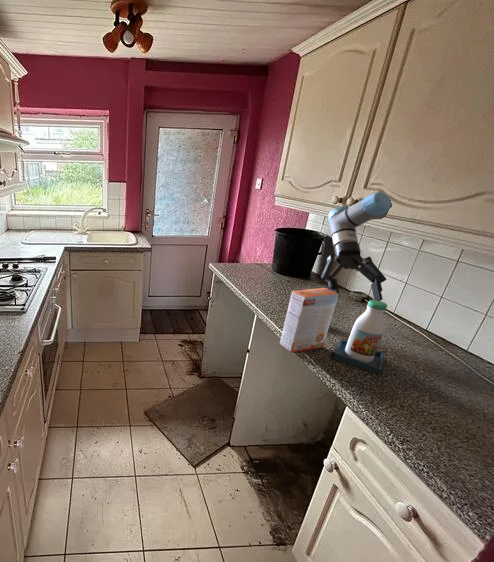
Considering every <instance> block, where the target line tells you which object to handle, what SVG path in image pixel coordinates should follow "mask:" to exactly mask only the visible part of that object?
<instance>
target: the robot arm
mask: <svg viewBox="0 0 494 562" xmlns="http://www.w3.org/2000/svg"><path fill="white" fill-rule="evenodd" d="M389 198H390V197H389V196H388V195H387V194H385V193H383V192H381V191H377V192H374V193H372V194H370V195H367V196H366V197H364V198H363V199H361V200H360V201H358V202H356V203H355V204H353V205H352V206H351V205H350V207H348V206H343V205H342V206H339V207H335V208H333V209H332V210H330V211H329V213H328V226H329V230H330V233H331V238H332V239H331V240H332V246H333V251H334V254H333V253H332V254H330V255H329V256H327V257H326V265H325V267H324V269H323V271H322V273H321V276H320V279H321V280H324V282H326V283H327V286H328V289H329V290H331V291H333V292H336V293H338V294H339V296H338V298H339V297H340V296H341V295H340V291H339V285H338V279H337V278H335V277H336V276H337V275H338V274H339V273H340V272H341V270H342V269H344V270H355V271H357V272H359V273H360V274H361V275H363V277H365V278H366V280H368V281H369V282H370V283H371V284H370V287H371V292H372V296H373V300H377V301H382V300H383V294H382V292H383V287H382V283H384V282H386V281H387V278H386V276H385V275H384V274H383V272H382V271H381V270H380V269H379V268H378V267H377V265H376V264H375V263H374V261H373V259H372V257H371V256H367V257H362V256H361V247H360V243H359V239H358V235H357V230H356V229H357V227H359V226H361V225H364V224H365V223H367V222H370V221H373V220H383V219H382V218H384V217H386V215H387V213H388V211H389V209H390V208H391V207H392V203H391V200H390V199H389ZM334 262H336V263H338V265H337V266H336V267H335V269H333V271H332V272H331V269H332V267H333V265H334ZM330 272H331V273H330Z"/></svg>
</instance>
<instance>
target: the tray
mask: <svg viewBox="0 0 494 562" xmlns="http://www.w3.org/2000/svg"><path fill="white" fill-rule="evenodd" d="M347 343H348V340H347V339H346V340H345V339H344V338H343V339H342V338H340V339H339V341H338V344H337V346H336V348H335V351H334V353H333V356H332V359H335V360H338V361H339V362H342V363H346V364H348V365H352V366H353V367H356V368H359V369H361V370H365V371H366V372H367V371H368V372H370V373H373V374H376V375H379V376H380V374H381V372H382V369H383V363H384V358H385V352H383V351H380V350H377V351H376V353H375V356H374V358H373V360H372V361H371V362H369V363H364V362H361V361H358V360H356V359H353V358H350V357H348V356H347V355H346V354H345V348H346V345H347Z"/></svg>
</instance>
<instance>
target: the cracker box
mask: <svg viewBox="0 0 494 562" xmlns="http://www.w3.org/2000/svg"><path fill="white" fill-rule="evenodd" d="M339 295H340V293H339V294H338V293H336V292H333V291H331V289H329V288H327V287H320V288H319V287H318V288H310V289H309V288H308V289H299V290H292V291H291V294H290V297H289V302H288V307H287V311H286V314H285V315H286V316H285V319H284V322H283V323H284V324H283V327H282V332H281V337H280V340H279V345H280V346H281V347H282V348H284V349H285V350H287V351H288V352H290V353H296V352H297V353H298V352H304V351H309V350H310V351H311V350H314V349H315V350H316V349H321V348H324V345H325V342H326V339H327V336H328V333H329V329H330V324H331V322H332V319H333V316H334V312H335V309H336V305H337V302H338V299H339V297H340V296H339ZM338 296H339V297H338Z"/></svg>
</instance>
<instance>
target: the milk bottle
mask: <svg viewBox="0 0 494 562" xmlns="http://www.w3.org/2000/svg"><path fill="white" fill-rule="evenodd" d="M387 307H388V304H387V303H386V302H384V301H382V300H380V301H377V300H374V299H370V300H368V302H367V305H366V310H365V311H364V312H363V313H362V314H361V315H359V316H358V317H357V318H356V320H355V322H354V324H353V326H352V328H351V331H350V335H349V337H348V339H347V341H348V343H347V345H346V348H345V354H346V355H347V356H348V357H350V358H353V359H356V360H358V361H361V362H364V363H369V362H371V361H372V360H373V358H374V356H375V353H376V351H378V348H379V345H380V343H381V340H382V338H383V335H384V333H385V320H384V313H385V312H386V310H387Z"/></svg>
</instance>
